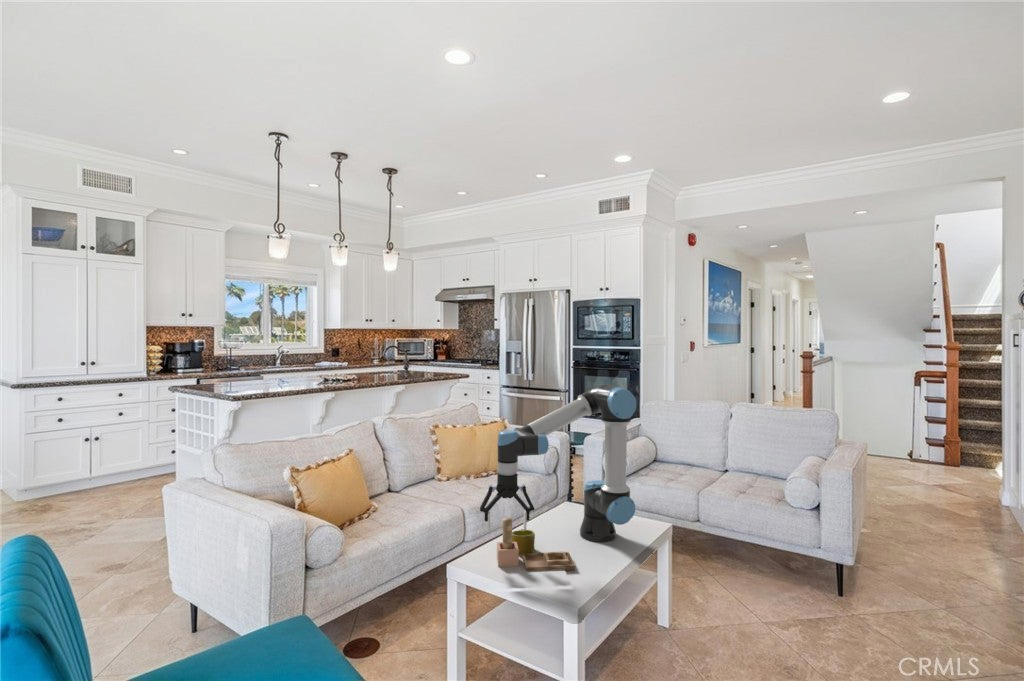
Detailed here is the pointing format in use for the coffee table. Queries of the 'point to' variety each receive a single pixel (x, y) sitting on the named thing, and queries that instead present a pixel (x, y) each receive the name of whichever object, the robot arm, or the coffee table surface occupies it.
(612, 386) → the robot arm
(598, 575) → the coffee table surface
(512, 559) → the pink hollow box
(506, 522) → the dowel
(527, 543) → the mug
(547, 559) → the tray
